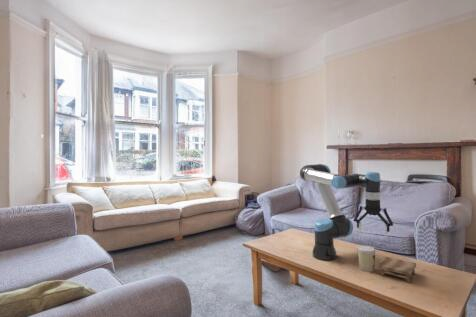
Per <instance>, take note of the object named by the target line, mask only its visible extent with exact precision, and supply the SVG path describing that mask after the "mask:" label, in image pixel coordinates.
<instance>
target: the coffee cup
mask: <svg viewBox="0 0 476 317" xmlns="http://www.w3.org/2000/svg"><path fill="white" fill-rule="evenodd" d="M357 256H358V266H359V270H361V271H363V272H374V271H375V264H376V249H375V247H373V246H369V245H359V246H357Z"/></svg>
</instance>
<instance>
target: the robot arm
mask: <svg viewBox="0 0 476 317" xmlns="http://www.w3.org/2000/svg"><path fill="white" fill-rule="evenodd" d="M299 177H300V178H301V180H303V181H305V182H313V184H314V186H317V188H318V192H319V194H320V196H321V199H322V202H323V204H324V207H325V210H326V211H327V212H326V213H327V215H328V218H319V219H317V220H315V222H314V227H313V228H314V246H313V249H312V257H314V258H315V259H317V260H321V261H333V260H336V259H337V257H338V256H337V255H338V254H337V250H336V248H335V245H334V240H335V239H340V238H347V237H349V236H352V233H353V231H354V225H353V224H354V223H353V222H352V221H351V219H350V218H347V217H346V215H345V214H344V213H342V211H341V209H340V206H339V203H338V201H337V199H336V196H335V193H334V191H333V189H332V187H333V188H334V189H336V190H337V189H338V190H339V189H340V190H342V189H347V188H359V187H360V188H365V206H362V205H360V206H359V210H358V211H357V213H356V215H355V217H354V218H353V221H354V222H356V228H358V234H359V235H361V234H362V222H361V221H362V220H363V219H364V218H366V217H367V215H369V216H378V218H380V220H381V221H382V223H384V224H385V229H384V232H385V233H384V235H385V236H384V238H385V239H387V238H388V233H390V227H391V226H392V227H393V226H394V223H393V220H392V219H391V217H390V215H389V214H388V211H387V210H388V208H386V207H383V208H382V207H381V200H380V199H381V173H379V172H376V171H366V172H365V174H362V173H361V174H359V173H351V174H345V175H342V174H337V173H332V172H331V169H330V167H329V166H328V165H327V164H323V163H322V164H321V163H318V164H306V165H304V166H302V167H301V169H300V170H299ZM331 186H332V187H331ZM364 210H365V212H364V213H363V214H362V215H361V213H362V211H364ZM381 212H382V213H384V215H385V217H386V219H385V217H384V216H383V215H382V214H381ZM360 215H361V216H360Z"/></svg>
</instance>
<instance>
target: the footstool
mask: <svg viewBox="0 0 476 317" xmlns="http://www.w3.org/2000/svg"><path fill="white" fill-rule="evenodd" d="M416 266H417V262H413V261H408V260H403V259H398V258H393V257H389V256H385V257H383V259H382V260H381V261H380V263H379V264H378V269H379V273H380V274H379V275H380V276H381V277H383V276H384V275H385V274H387V275H391V276H395V277H399V278H403V279H406V283H408V284H409V283H411V277H412V275H414V274H415V271H416V268H417V267H416Z"/></svg>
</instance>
